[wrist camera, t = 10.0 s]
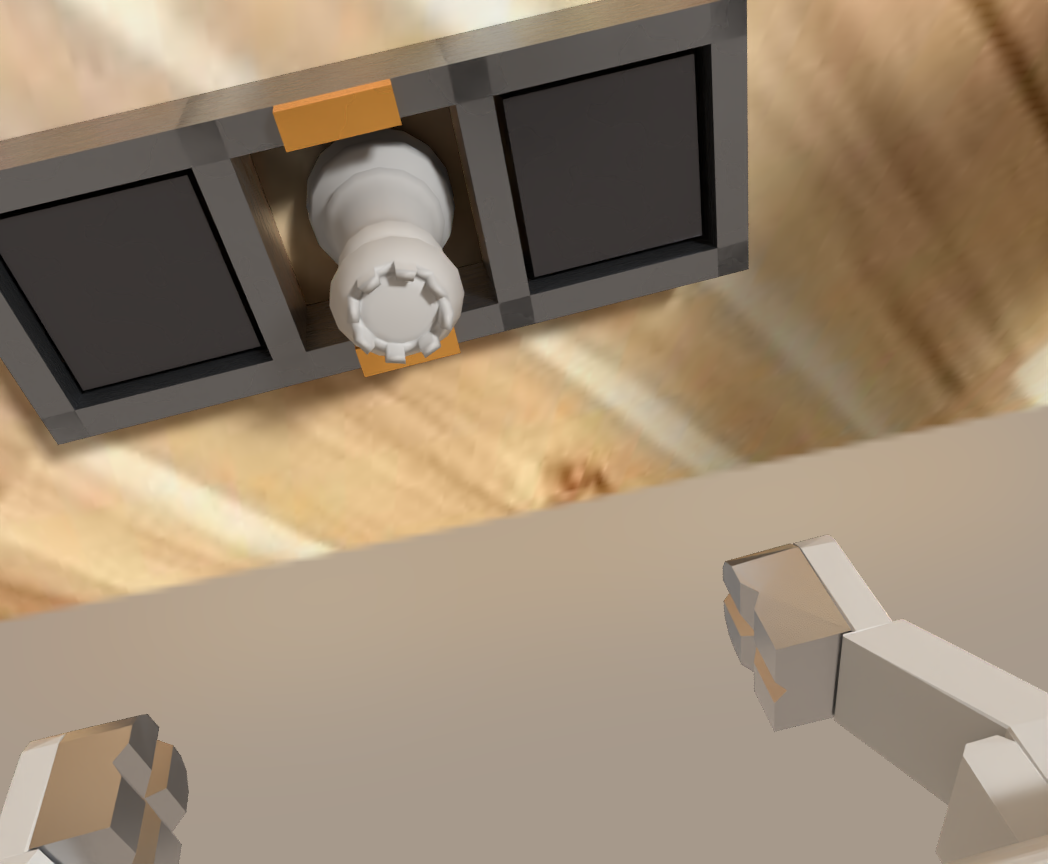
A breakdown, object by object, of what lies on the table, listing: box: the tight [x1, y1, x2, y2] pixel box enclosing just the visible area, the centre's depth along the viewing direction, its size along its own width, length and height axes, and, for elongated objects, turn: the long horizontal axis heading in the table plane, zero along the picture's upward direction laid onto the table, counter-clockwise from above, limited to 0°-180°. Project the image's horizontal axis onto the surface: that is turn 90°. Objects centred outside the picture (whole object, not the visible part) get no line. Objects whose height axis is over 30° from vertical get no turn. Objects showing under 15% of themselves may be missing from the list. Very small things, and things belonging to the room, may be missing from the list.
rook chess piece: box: [306, 129, 464, 364], centre depth 23 cm, size 4×4×8 cm
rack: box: [0, 0, 748, 445], centre depth 25 cm, size 22×8×4 cm, turn 100°
